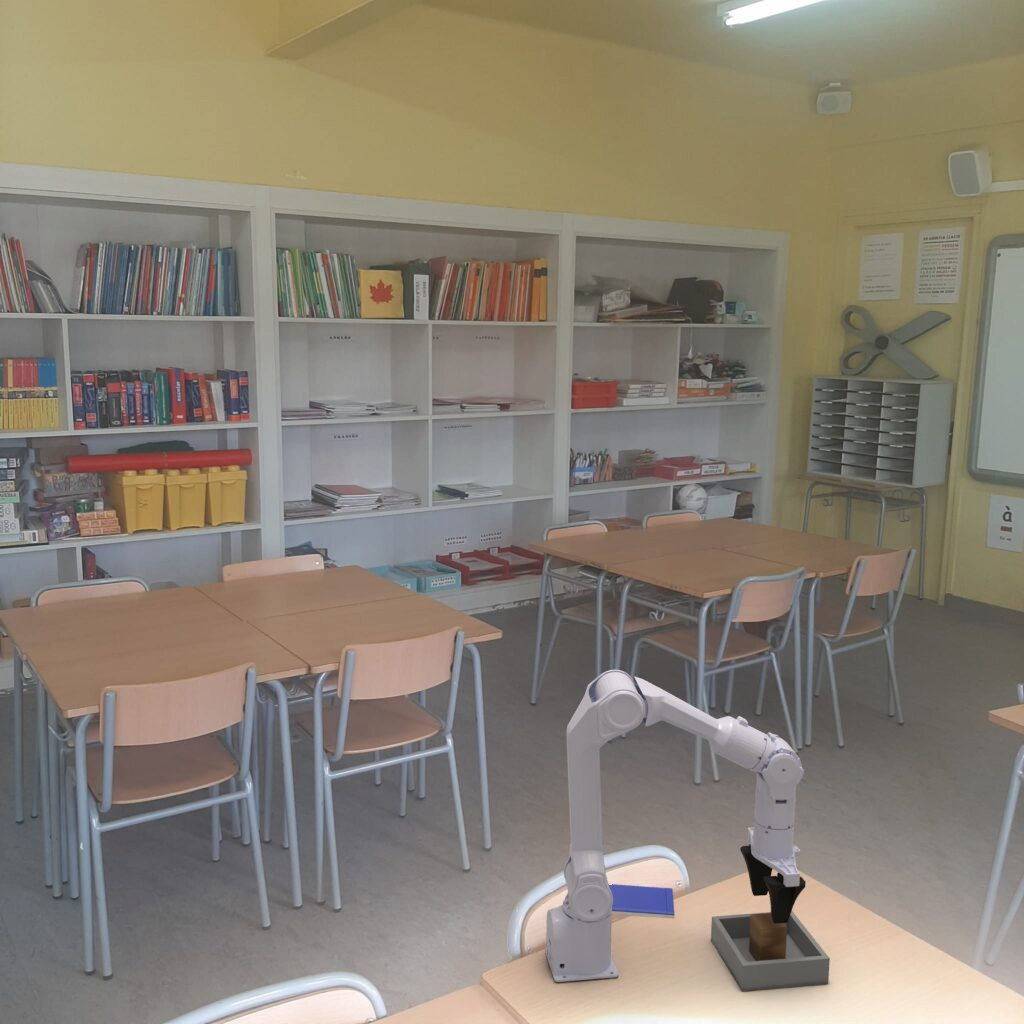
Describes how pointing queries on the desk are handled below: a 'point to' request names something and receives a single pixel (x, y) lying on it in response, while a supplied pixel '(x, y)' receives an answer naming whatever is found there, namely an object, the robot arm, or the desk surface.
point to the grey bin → (797, 970)
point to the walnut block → (767, 938)
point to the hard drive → (642, 901)
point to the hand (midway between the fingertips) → (769, 907)
